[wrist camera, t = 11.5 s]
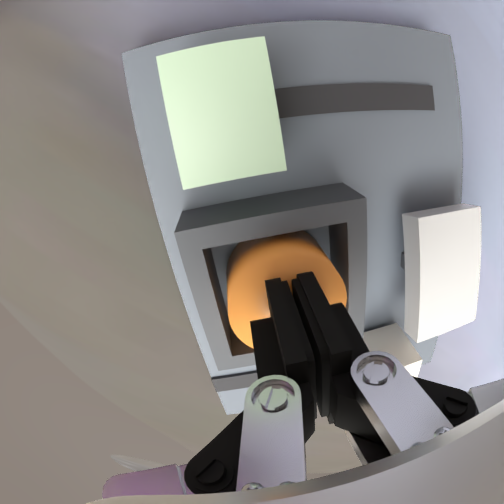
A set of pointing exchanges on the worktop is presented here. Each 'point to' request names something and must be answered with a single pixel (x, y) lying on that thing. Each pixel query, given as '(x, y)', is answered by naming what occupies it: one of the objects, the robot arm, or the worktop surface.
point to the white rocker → (441, 269)
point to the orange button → (274, 275)
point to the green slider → (222, 111)
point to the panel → (312, 170)
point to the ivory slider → (394, 346)
